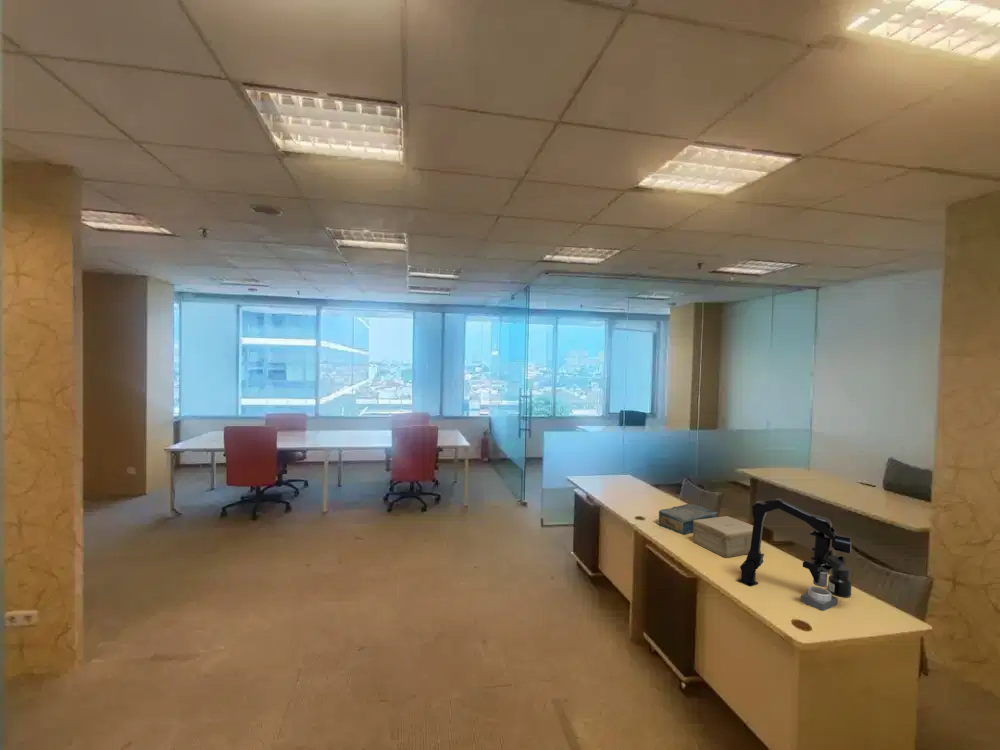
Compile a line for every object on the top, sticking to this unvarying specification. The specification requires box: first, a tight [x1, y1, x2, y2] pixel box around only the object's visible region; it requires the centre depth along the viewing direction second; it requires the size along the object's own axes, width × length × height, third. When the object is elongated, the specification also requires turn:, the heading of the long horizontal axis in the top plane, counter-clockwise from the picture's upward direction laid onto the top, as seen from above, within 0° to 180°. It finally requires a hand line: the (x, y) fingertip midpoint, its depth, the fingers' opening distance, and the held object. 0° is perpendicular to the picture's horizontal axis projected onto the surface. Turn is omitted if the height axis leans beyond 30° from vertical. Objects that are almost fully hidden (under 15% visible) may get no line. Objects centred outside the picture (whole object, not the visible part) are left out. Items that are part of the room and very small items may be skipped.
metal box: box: [657, 503, 719, 536], centre depth 314 cm, size 21×32×10 cm, turn 121°
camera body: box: [800, 585, 839, 612], centre depth 218 cm, size 12×9×6 cm
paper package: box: [692, 515, 753, 558], centre depth 280 cm, size 27×26×14 cm
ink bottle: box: [827, 565, 853, 598], centre depth 228 cm, size 10×9×12 cm
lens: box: [812, 567, 829, 588], centre depth 217 cm, size 5×5×7 cm
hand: (819, 581), depth 218 cm, fingers closed on lens, 5 cm apart
